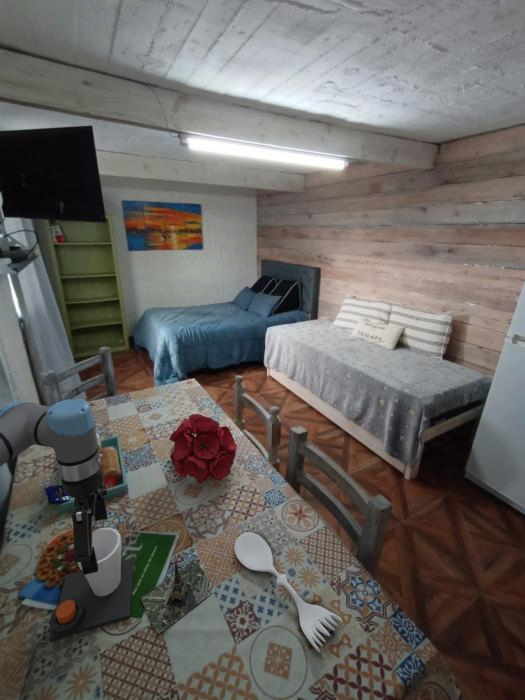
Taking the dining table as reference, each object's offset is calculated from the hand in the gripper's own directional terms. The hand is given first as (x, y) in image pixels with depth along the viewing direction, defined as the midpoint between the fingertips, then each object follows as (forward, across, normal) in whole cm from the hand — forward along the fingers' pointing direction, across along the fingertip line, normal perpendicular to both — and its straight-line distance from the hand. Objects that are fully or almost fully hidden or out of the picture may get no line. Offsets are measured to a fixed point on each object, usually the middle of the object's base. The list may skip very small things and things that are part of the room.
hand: (96, 543), depth 73 cm
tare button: (+12, -6, +7) cm, 15 cm away
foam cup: (+14, 0, 0) cm, 14 cm away
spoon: (+14, -12, -42) cm, 46 cm away
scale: (+15, -2, +2) cm, 15 cm away
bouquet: (+15, +34, -28) cm, 46 cm away
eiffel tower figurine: (+15, -7, -17) cm, 24 cm away
